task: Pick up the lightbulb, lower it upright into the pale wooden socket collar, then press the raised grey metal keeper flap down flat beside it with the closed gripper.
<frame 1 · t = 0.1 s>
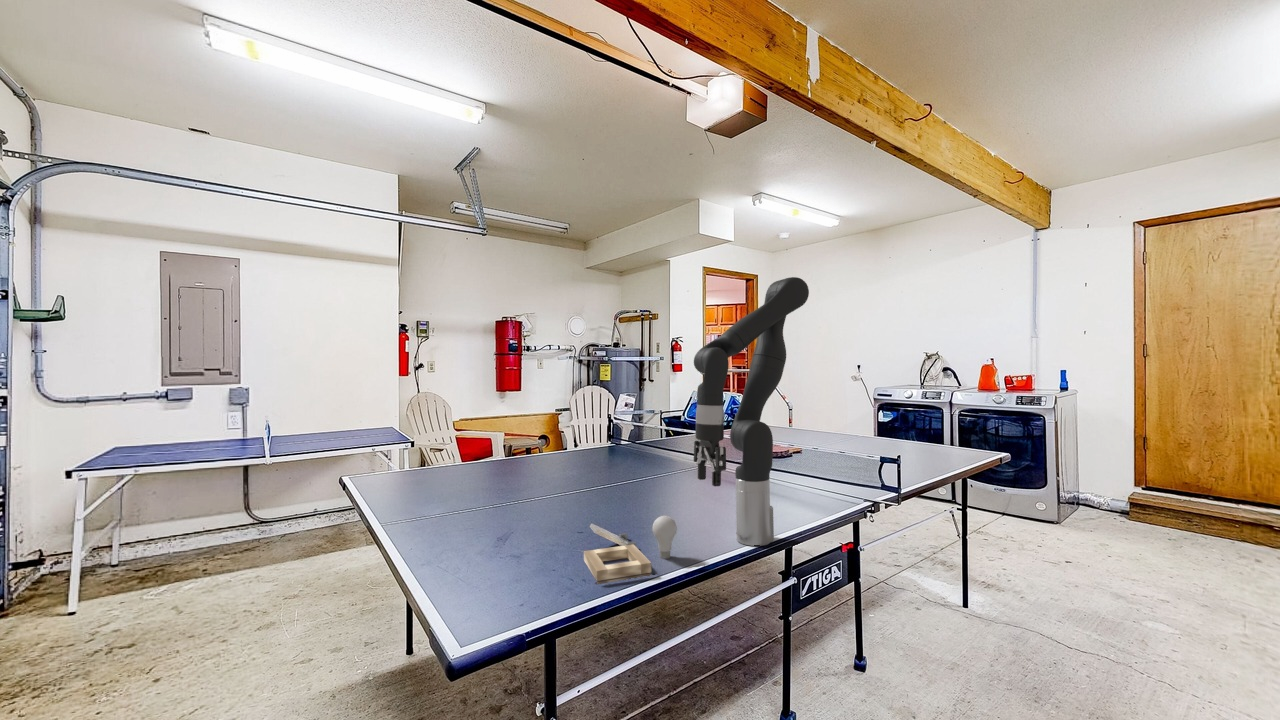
hand: (708, 482, 133), 17 cm above the table, tool pointing down, fingers open, 8 cm apart
keeper bracket: (627, 547, 134), on the table
keeper: (611, 536, 132), point 3 cm above the table, hinge at 30.0°
lightbulb: (665, 561, 124), on the table
socket: (616, 569, 119), on the table
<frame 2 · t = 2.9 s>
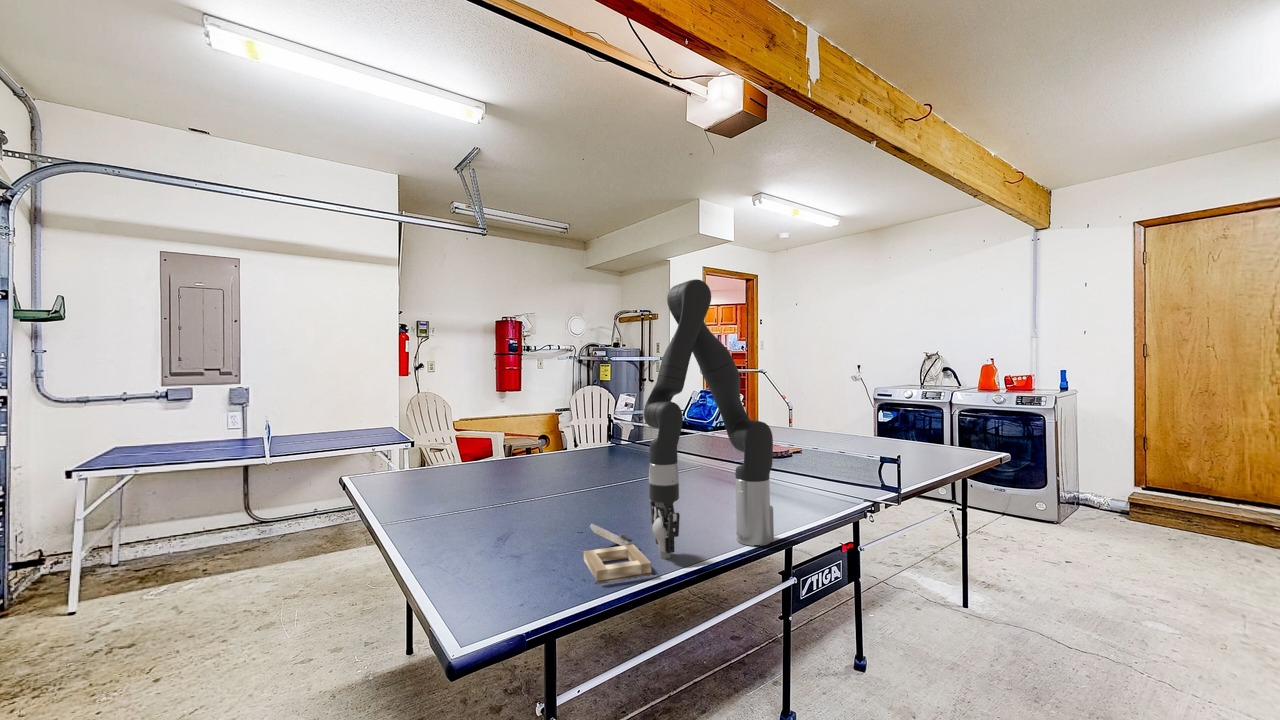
hand: (664, 547, 124), 3 cm above the table, tool pointing down, fingers closed on lightbulb, 6 cm apart
lightbulb: (665, 561, 124), on the table, touching gripper
everything else where it was.
when the fingers open (5 cm above the table, at t = 8.4 s): lightbulb drops 2 cm, resting in socket.
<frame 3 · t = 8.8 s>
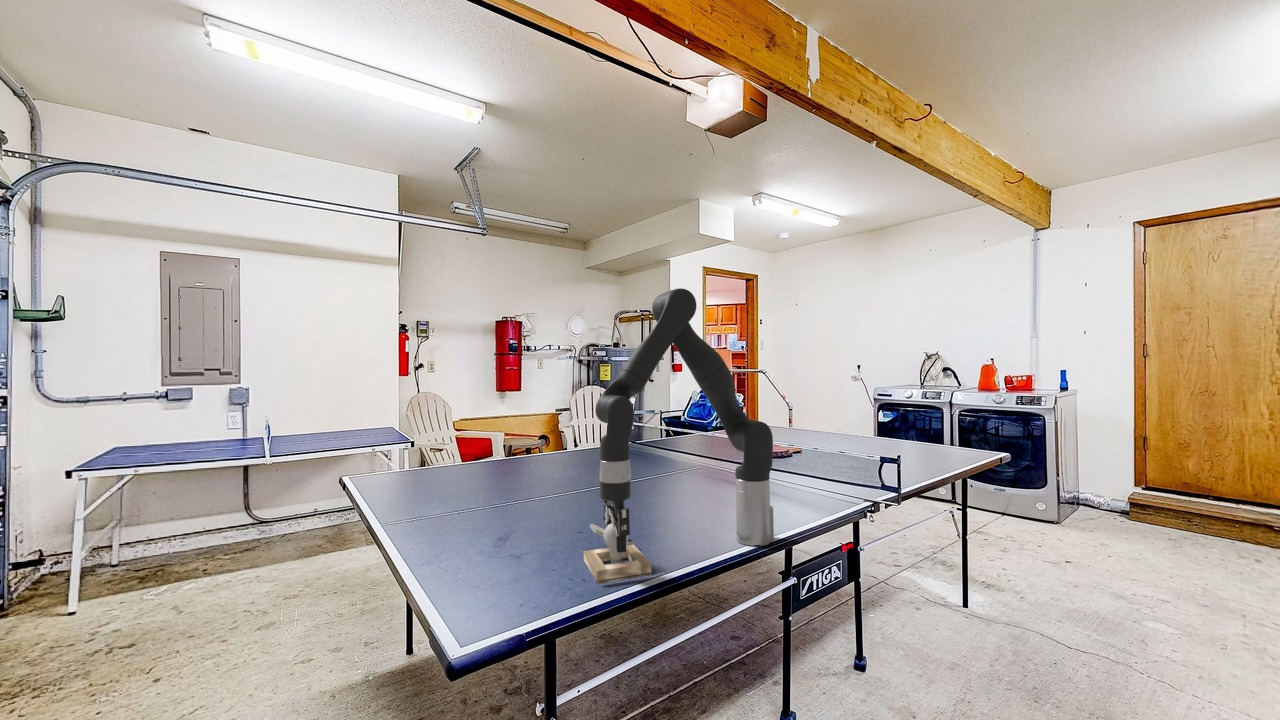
hand: (616, 545, 119), 6 cm above the table, tool pointing down, fingers open, 8 cm apart
lightbulb: (616, 568, 120), resting in socket
everything else where it was.
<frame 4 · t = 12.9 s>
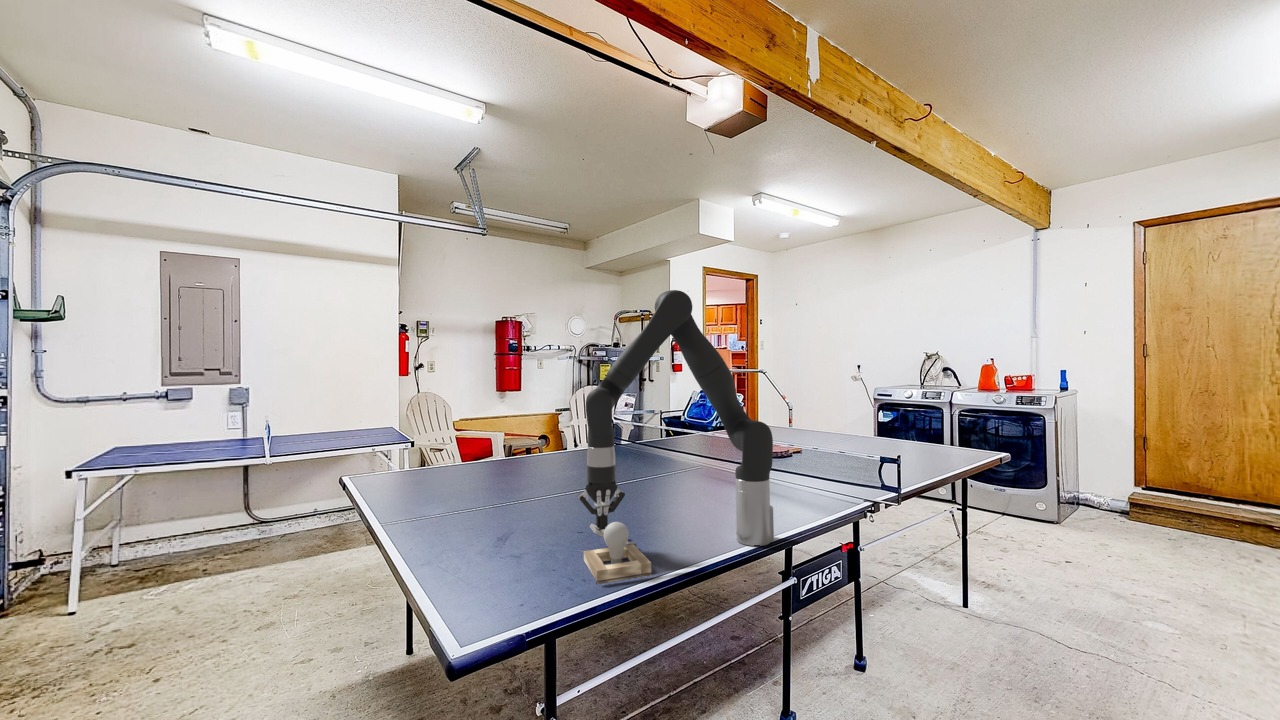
hand: (601, 528, 132), 6 cm above the table, tool pointing down, fingers closed
keeper: (611, 536, 132), point 3 cm above the table, hinge at 30.0°, touching gripper
everything else where it was.
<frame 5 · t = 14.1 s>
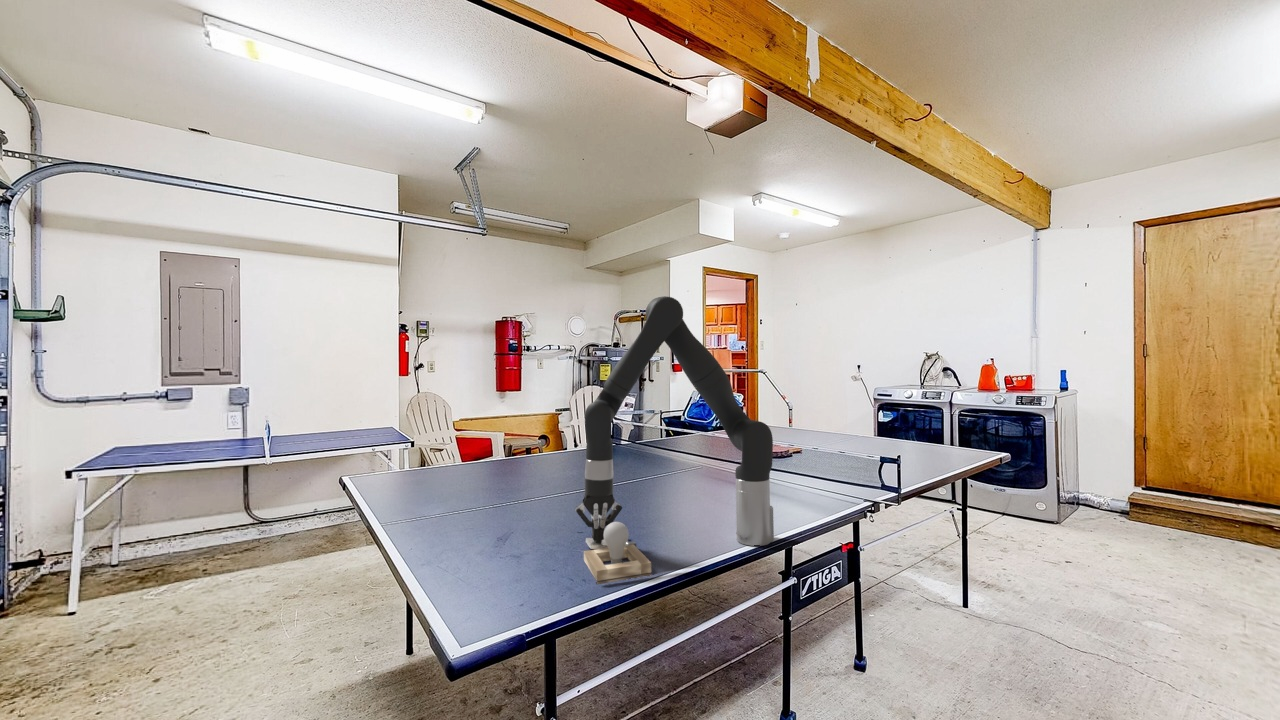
hand: (598, 541, 131), 3 cm above the table, tool pointing down, fingers closed
keeper: (609, 543, 132), point 2 cm above the table, hinge at 8.8°, touching gripper
everything else where it was.
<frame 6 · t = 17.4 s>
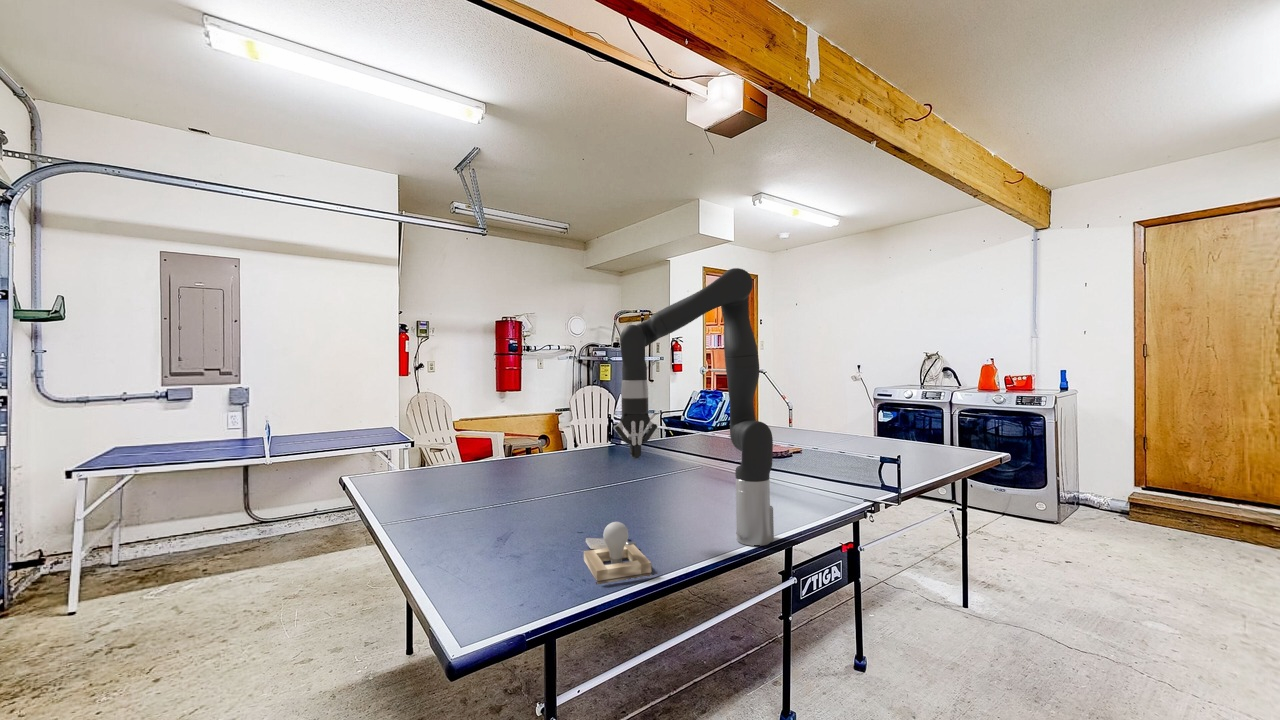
hand: (635, 458, 139), 23 cm above the table, tool pointing down, fingers closed
keeper: (609, 543, 132), point 2 cm above the table, hinge at 8.7°
everything else where it was.
at the end: lightbulb 0.7 cm off-centre on the socket, point 0.0 cm above the socket's base; lightbulb tilted 1°; keeper at +9° (first picture: +30°) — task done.
